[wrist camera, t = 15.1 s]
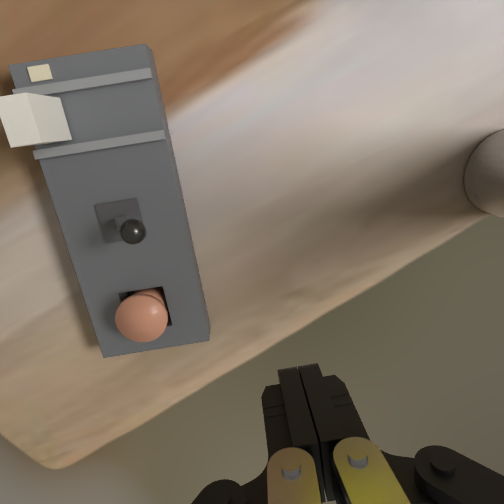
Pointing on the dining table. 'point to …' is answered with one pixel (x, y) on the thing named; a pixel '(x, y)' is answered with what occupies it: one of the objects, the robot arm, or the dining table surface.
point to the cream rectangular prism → (33, 119)
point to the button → (143, 315)
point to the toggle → (130, 229)
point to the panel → (118, 190)
